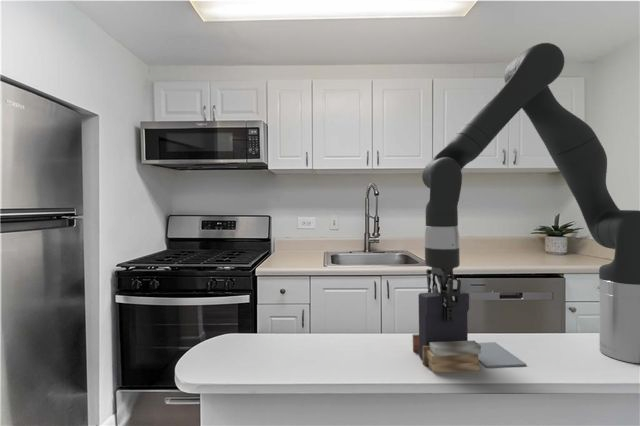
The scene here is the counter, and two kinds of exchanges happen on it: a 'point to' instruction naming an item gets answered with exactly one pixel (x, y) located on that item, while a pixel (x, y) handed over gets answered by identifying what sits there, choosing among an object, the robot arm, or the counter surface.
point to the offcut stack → (454, 356)
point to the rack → (416, 348)
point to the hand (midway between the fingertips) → (442, 318)
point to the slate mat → (497, 356)
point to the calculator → (441, 320)
